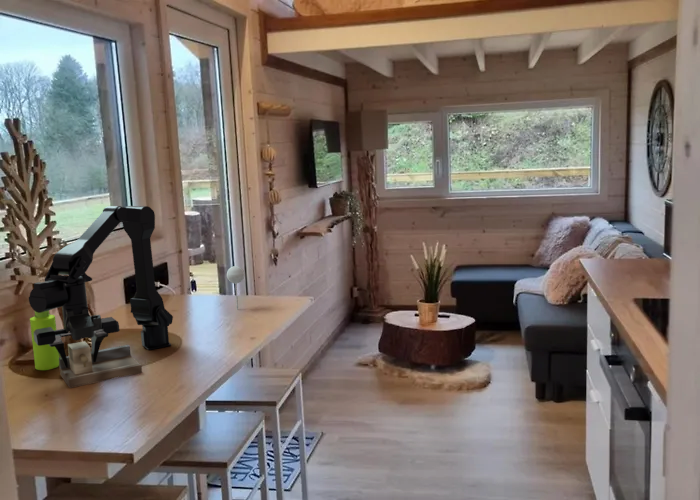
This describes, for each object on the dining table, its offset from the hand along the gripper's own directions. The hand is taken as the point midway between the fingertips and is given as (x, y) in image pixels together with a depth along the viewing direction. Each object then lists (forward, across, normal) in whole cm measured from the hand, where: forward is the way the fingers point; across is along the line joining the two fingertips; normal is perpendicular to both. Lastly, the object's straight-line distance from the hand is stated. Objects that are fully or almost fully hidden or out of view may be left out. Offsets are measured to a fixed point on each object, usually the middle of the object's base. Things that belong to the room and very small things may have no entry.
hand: (80, 364), depth 164 cm
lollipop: (+4, +58, +37) cm, 69 cm away
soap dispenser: (+3, -6, +14) cm, 15 cm away
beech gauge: (+1, 0, -2) cm, 2 cm away
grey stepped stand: (+3, +4, -1) cm, 6 cm away
